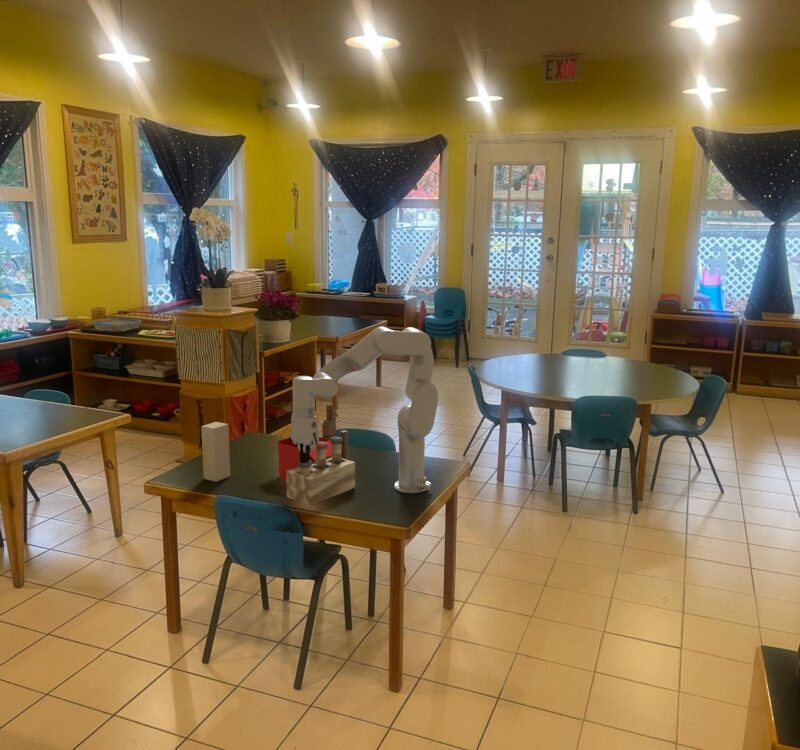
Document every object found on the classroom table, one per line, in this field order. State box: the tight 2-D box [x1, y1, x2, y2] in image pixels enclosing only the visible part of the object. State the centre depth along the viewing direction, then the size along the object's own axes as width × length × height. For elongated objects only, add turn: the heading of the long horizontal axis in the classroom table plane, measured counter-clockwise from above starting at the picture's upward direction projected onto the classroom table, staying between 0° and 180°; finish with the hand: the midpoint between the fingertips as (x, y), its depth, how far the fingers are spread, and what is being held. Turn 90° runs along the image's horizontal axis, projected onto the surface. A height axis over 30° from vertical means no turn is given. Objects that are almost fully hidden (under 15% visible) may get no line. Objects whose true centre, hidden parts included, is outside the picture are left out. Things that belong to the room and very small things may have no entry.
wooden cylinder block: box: [286, 455, 356, 506], centre depth 268 cm, size 12×23×10 cm, turn 141°
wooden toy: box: [320, 404, 349, 460], centre depth 296 cm, size 16×7×25 cm, turn 160°
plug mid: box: [316, 442, 327, 469], centre depth 266 cm, size 5×5×9 cm
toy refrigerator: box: [200, 421, 231, 482], centre depth 281 cm, size 8×7×21 cm
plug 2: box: [330, 436, 343, 464], centre depth 272 cm, size 5×5×9 cm
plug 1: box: [298, 460, 312, 476], centre depth 261 cm, size 5×5×9 cm
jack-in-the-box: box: [266, 412, 332, 482], centre depth 282 cm, size 26×16×30 cm, turn 55°
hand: (304, 461), depth 260 cm, fingers closed
